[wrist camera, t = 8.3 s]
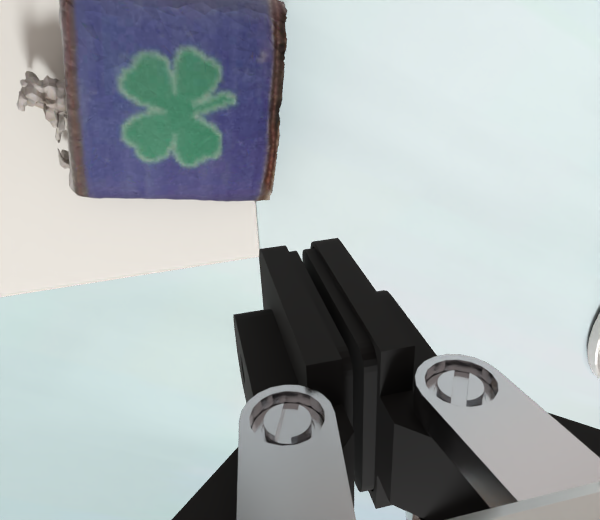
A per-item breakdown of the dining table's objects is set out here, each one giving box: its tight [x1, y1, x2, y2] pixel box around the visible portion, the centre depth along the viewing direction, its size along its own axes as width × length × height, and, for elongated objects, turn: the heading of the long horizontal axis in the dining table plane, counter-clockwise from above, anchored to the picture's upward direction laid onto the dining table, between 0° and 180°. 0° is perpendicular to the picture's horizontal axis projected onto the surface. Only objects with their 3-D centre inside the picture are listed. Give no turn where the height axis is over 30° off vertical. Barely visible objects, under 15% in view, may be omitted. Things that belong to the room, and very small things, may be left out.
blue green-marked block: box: [16, 0, 287, 202], centre depth 24 cm, size 9×3×11 cm
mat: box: [0, 0, 259, 297], centre depth 25 cm, size 16×16×1 cm
